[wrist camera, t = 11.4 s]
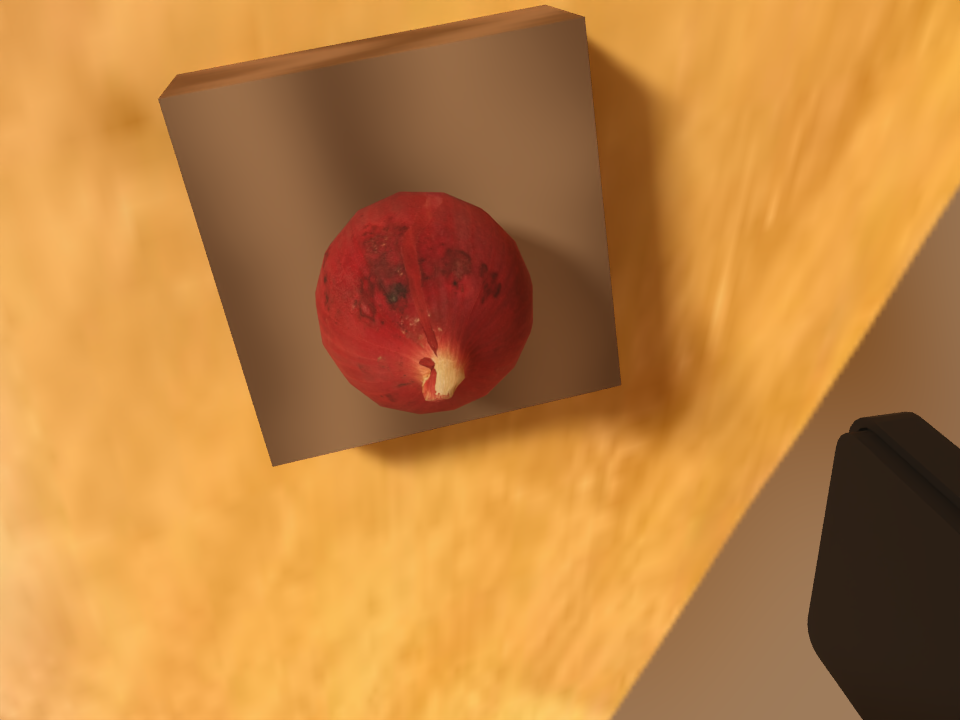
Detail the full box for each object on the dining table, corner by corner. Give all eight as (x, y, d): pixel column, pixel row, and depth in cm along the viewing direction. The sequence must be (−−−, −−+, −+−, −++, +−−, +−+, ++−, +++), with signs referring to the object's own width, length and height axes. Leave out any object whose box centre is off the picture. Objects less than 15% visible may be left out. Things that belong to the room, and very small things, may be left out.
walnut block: (541, 3, 30) (584, 16, 26) (580, 327, 36) (621, 385, 31) (178, 72, 29) (158, 99, 25) (275, 397, 34) (272, 466, 30)
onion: (281, 213, 27) (264, 330, 20) (459, 125, 26) (508, 213, 19) (372, 368, 29) (387, 520, 22) (535, 291, 29) (601, 421, 22)
